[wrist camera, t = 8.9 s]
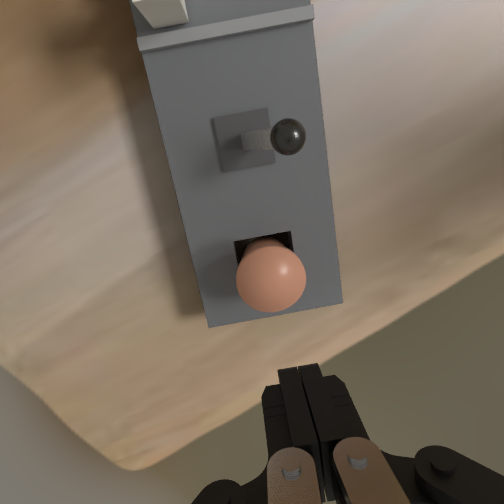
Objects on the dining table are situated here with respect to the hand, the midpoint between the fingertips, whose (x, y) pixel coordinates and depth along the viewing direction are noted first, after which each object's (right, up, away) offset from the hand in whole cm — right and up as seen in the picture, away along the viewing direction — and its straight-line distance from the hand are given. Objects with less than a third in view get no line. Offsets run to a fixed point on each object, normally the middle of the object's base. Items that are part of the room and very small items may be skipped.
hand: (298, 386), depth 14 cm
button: (-1, +4, +19) cm, 19 cm away
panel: (-2, +14, +17) cm, 23 cm away
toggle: (-2, +13, +14) cm, 20 cm away
